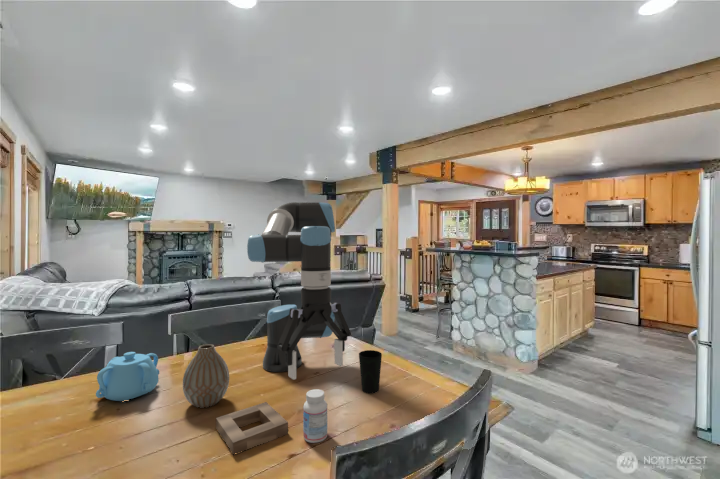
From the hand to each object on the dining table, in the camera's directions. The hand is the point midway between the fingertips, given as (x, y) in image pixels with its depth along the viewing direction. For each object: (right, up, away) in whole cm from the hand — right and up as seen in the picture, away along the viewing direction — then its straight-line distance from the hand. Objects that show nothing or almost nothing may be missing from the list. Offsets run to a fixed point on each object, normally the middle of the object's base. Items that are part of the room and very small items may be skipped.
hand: (316, 370), depth 86 cm
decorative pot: (-64, -17, +25) cm, 71 cm away
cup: (+14, -17, +27) cm, 35 cm away
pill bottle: (0, -17, +1) cm, 17 cm away
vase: (-36, -17, +19) cm, 44 cm away
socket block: (-17, -17, +3) cm, 25 cm away
